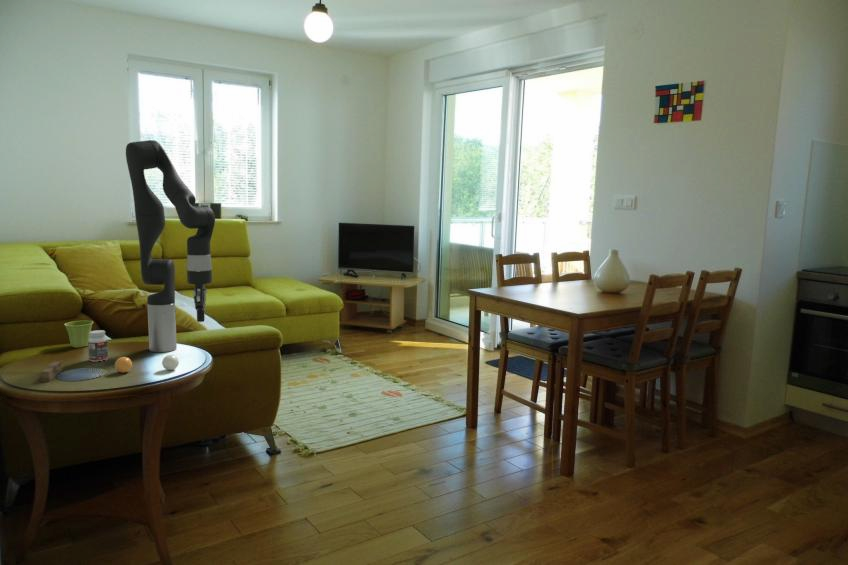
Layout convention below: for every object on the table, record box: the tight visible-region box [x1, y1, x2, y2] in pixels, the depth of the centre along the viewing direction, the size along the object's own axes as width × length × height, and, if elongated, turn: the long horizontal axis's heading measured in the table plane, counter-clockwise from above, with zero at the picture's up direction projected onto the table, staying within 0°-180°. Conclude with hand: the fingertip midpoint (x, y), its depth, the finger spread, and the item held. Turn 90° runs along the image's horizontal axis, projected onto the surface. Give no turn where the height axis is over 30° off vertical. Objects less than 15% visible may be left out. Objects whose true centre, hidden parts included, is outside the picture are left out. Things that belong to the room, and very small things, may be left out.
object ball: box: [114, 356, 133, 374], centre depth 197 cm, size 5×5×5 cm
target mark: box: [55, 367, 108, 382], centre depth 194 cm, size 14×14×1 cm
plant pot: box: [64, 320, 94, 349], centre depth 228 cm, size 9×9×9 cm
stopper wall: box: [40, 360, 62, 383], centre depth 192 cm, size 12×2×3 cm, turn 15°
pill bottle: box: [88, 329, 109, 363], centre depth 210 cm, size 6×6×10 cm
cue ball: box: [161, 354, 180, 371], centre depth 201 cm, size 5×5×5 cm
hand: (200, 321), depth 201 cm, fingers closed
